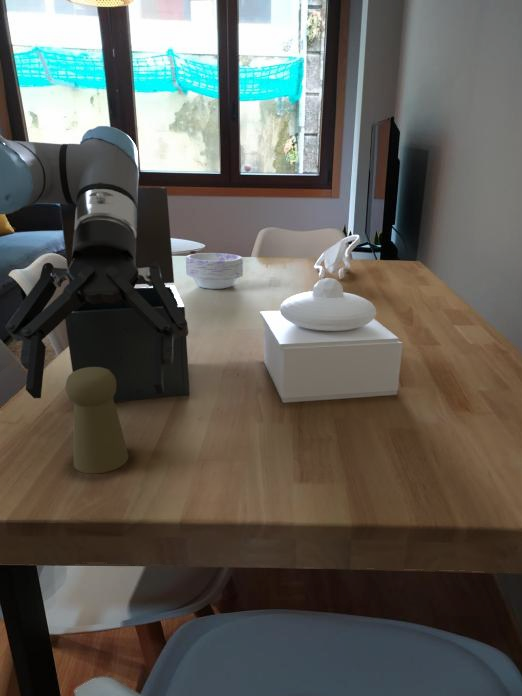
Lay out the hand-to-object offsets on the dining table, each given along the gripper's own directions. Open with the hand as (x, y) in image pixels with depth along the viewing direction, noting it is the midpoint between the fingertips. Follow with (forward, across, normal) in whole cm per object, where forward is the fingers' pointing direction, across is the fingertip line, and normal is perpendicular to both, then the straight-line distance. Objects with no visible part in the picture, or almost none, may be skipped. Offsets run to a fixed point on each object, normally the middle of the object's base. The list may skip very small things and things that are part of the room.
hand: (97, 392), depth 61 cm
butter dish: (-10, +30, +21) cm, 38 cm away
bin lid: (-30, -1, +12) cm, 32 cm away
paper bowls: (-58, +13, +70) cm, 92 cm away
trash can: (-10, 0, +21) cm, 23 cm away
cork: (+7, 0, +5) cm, 8 cm away
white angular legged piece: (-67, +50, +79) cm, 115 cm away
